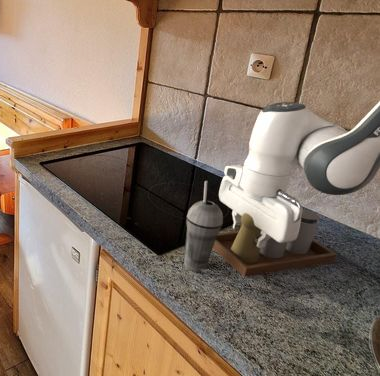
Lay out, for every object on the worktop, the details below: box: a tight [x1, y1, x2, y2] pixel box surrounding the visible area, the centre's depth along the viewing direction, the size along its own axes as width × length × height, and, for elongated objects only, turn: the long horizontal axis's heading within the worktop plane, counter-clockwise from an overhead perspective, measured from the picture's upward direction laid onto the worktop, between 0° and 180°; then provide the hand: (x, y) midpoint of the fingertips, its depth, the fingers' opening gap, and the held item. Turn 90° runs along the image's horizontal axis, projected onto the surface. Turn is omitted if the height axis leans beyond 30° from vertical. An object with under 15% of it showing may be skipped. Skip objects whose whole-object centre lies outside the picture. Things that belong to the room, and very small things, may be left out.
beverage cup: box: [183, 180, 224, 272], centre depth 85 cm, size 7×7×20 cm
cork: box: [230, 213, 262, 263], centre depth 89 cm, size 6×6×11 cm
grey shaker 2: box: [286, 208, 320, 254], centre depth 93 cm, size 6×6×9 cm
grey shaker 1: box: [260, 237, 288, 258], centre depth 91 cm, size 6×6×9 cm
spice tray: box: [212, 230, 338, 278], centre depth 93 cm, size 24×14×3 cm, turn 105°
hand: (247, 237), depth 90 cm, fingers open, 5 cm apart
